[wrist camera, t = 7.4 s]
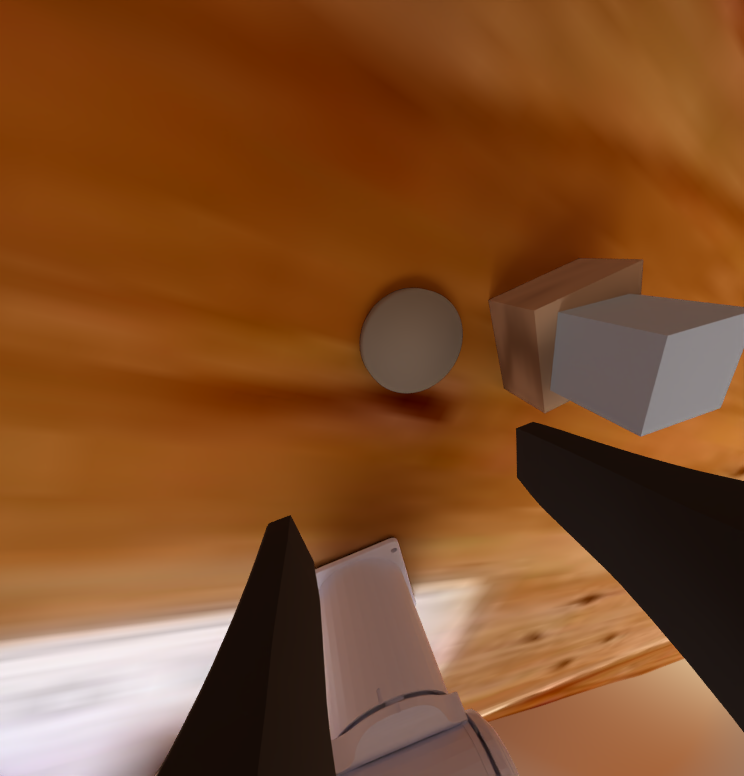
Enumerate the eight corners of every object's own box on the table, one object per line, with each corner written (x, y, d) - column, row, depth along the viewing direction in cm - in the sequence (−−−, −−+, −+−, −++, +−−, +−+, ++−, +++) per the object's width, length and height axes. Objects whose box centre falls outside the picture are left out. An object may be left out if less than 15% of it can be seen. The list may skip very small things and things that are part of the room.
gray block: (614, 370, 18) (720, 407, 14) (550, 390, 18) (640, 436, 13) (629, 293, 16) (759, 309, 12) (557, 312, 16) (667, 335, 11)
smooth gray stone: (456, 369, 20) (466, 375, 19) (370, 397, 19) (376, 406, 18) (446, 275, 18) (457, 276, 16) (347, 303, 17) (351, 306, 16)
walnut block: (579, 349, 22) (636, 367, 19) (501, 387, 22) (544, 413, 18) (576, 258, 19) (643, 259, 16) (486, 299, 19) (534, 310, 15)
